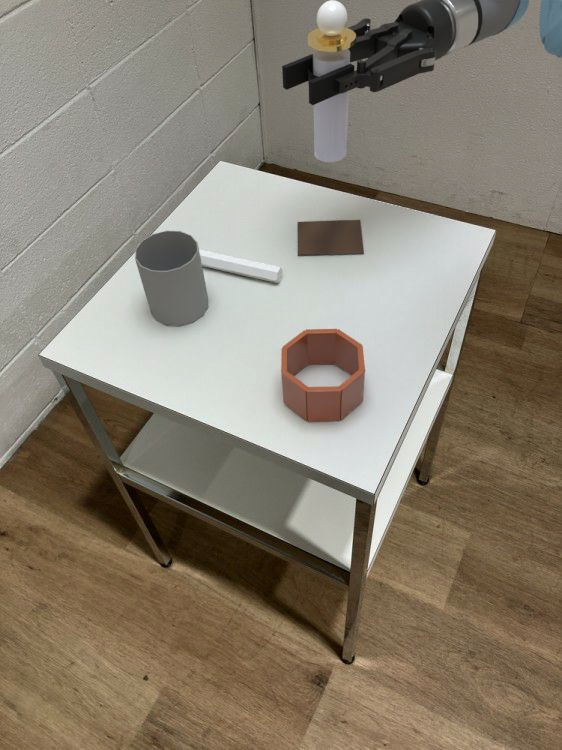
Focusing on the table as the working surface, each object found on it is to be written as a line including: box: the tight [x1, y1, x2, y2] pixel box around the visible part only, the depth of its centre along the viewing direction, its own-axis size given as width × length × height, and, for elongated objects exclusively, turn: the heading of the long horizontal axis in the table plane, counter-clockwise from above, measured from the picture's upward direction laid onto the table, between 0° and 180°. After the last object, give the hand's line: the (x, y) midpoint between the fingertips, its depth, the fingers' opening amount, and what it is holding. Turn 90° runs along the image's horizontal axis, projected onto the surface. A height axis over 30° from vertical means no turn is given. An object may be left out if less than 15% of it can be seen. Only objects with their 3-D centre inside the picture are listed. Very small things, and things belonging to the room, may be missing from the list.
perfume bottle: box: [307, 0, 356, 163], centre depth 81 cm, size 6×6×20 cm
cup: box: [134, 230, 209, 327], centre depth 87 cm, size 8×8×10 cm
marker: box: [199, 248, 283, 284], centre depth 95 cm, size 3×2×16 cm
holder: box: [280, 328, 366, 423], centre depth 78 cm, size 10×10×6 cm
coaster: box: [297, 219, 365, 257], centre depth 99 cm, size 10×8×1 cm
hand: (297, 85), depth 77 cm, fingers closed on perfume bottle, 4 cm apart
